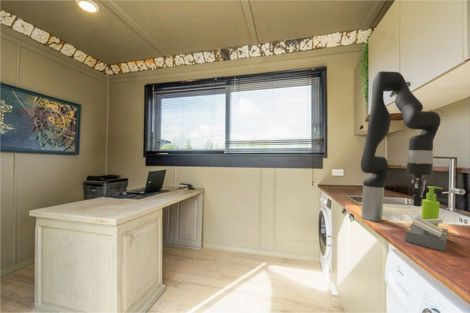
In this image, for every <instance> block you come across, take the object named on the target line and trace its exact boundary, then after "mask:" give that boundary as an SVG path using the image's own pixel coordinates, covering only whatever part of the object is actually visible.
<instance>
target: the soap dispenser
mask: <svg viewBox="0 0 470 313" xmlns="http://www.w3.org/2000/svg"><path fill="white" fill-rule="evenodd" d="M427 188H428V192H426V195H425V196H426V198H425V199H422V204H421V217H420V218H422V219H440V218H439V217H440V203H441V202H440V201H437V193H435V189H438V190H439V189H440V190H443V189H444V188H443V187H441V186H439V187H438V186H434V185H431V186H429V185H428V186H427ZM431 224H433V225H435V226H437V227H439V223H431Z"/></svg>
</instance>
